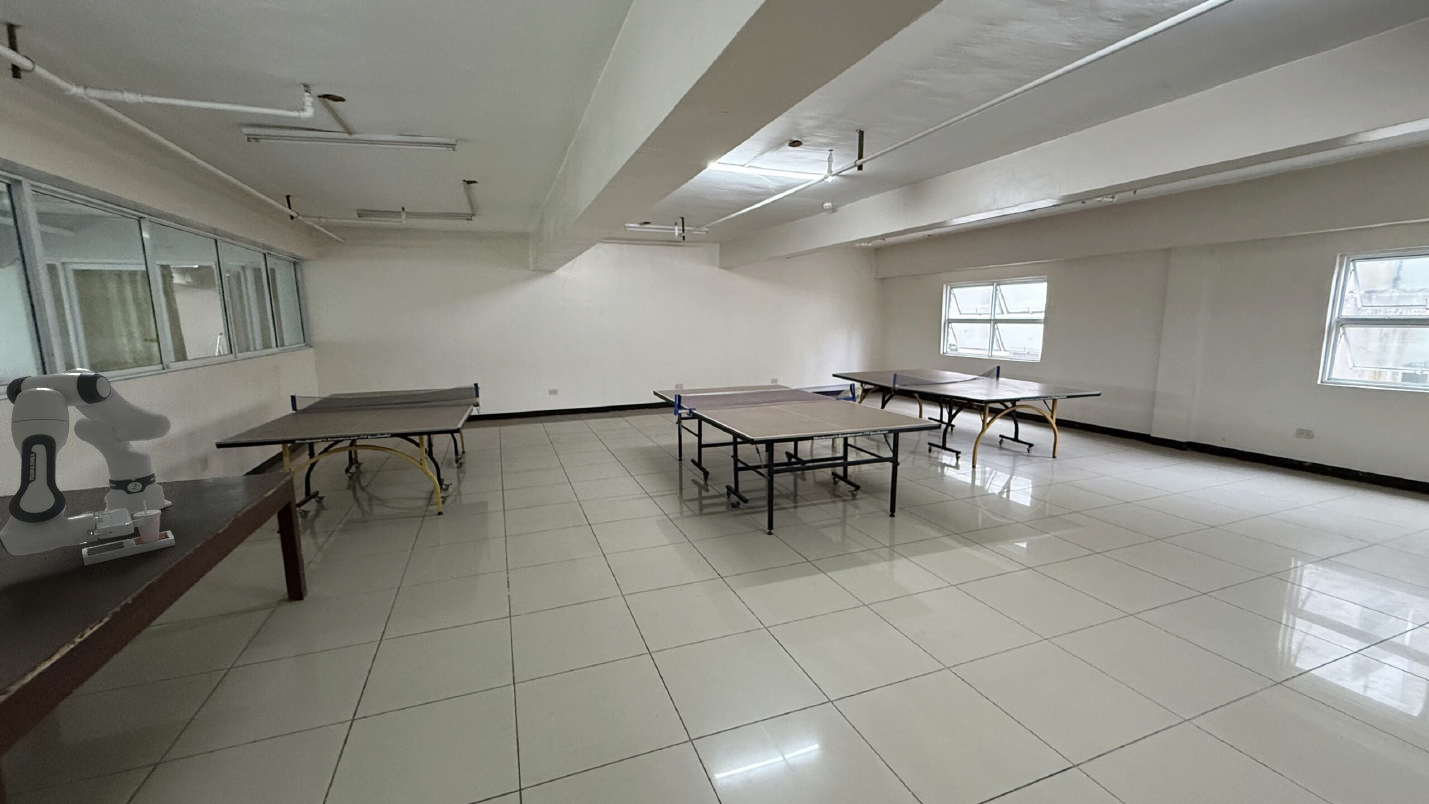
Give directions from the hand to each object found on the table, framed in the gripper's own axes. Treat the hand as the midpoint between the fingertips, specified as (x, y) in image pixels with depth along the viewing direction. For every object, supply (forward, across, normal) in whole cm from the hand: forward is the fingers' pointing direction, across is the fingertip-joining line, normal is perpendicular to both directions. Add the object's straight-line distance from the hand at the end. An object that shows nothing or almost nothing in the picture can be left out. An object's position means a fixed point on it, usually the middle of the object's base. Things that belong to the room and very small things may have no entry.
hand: (151, 516), depth 174 cm
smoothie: (-1, 0, +8) cm, 9 cm away
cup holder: (-6, 0, +10) cm, 12 cm away
